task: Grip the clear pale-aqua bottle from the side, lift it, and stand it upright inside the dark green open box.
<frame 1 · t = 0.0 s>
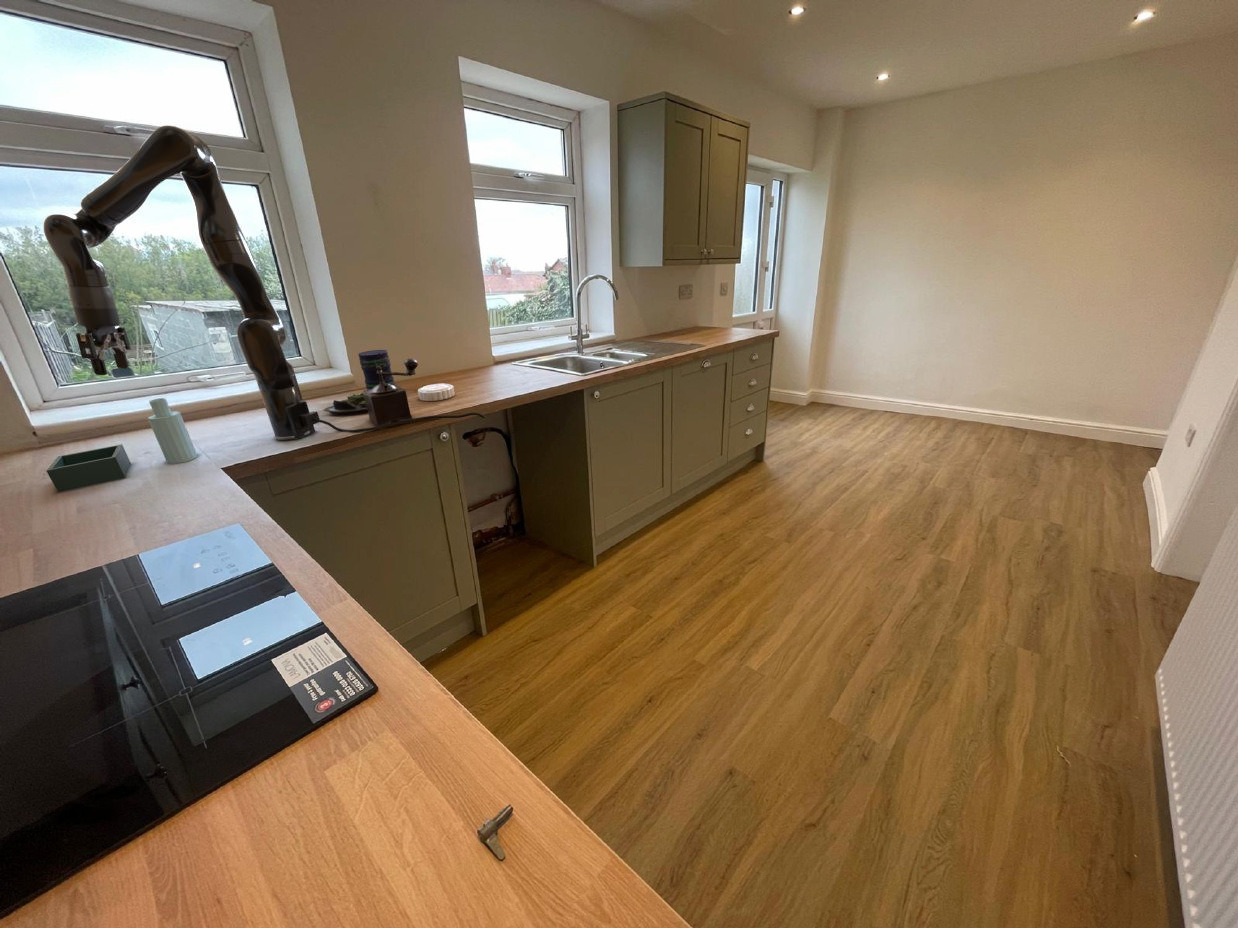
hand: (112, 371, 128), 22 cm above the worktop, tool pointing down, fingers open, 8 cm apart
manual coffee grinder: (399, 418, 155), on the worktop
bottle: (182, 459, 131), on the worktop
mooncake: (437, 397, 177), on the worktop
storage jar: (382, 393, 186), on the worktop
dark green open box: (97, 477, 122), on the worktop
salad plate: (358, 409, 168), on the worktop
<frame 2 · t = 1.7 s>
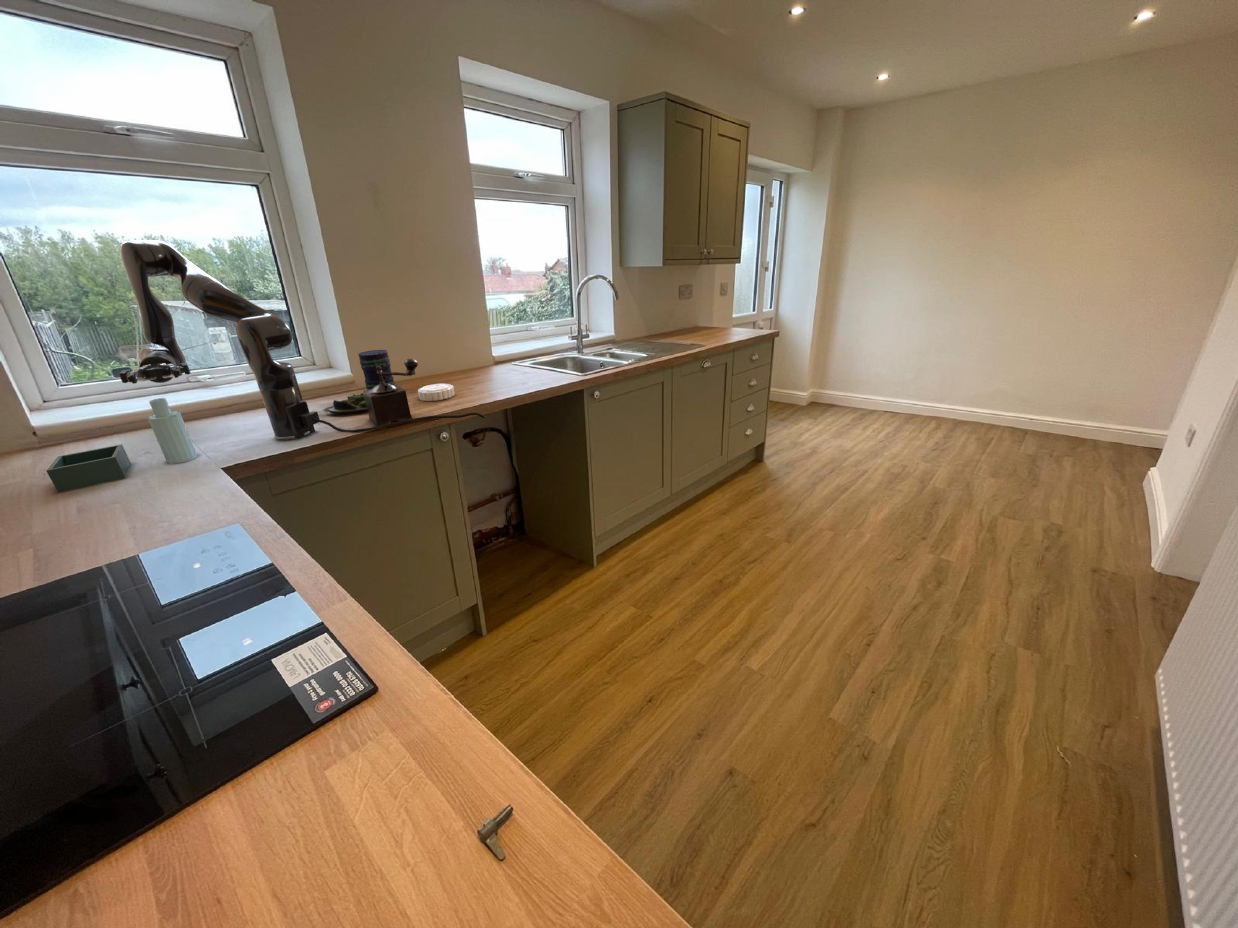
hand: (154, 376, 131), 20 cm above the worktop, tool horizontal, fingers open, 8 cm apart
nothing on the worktop moved.
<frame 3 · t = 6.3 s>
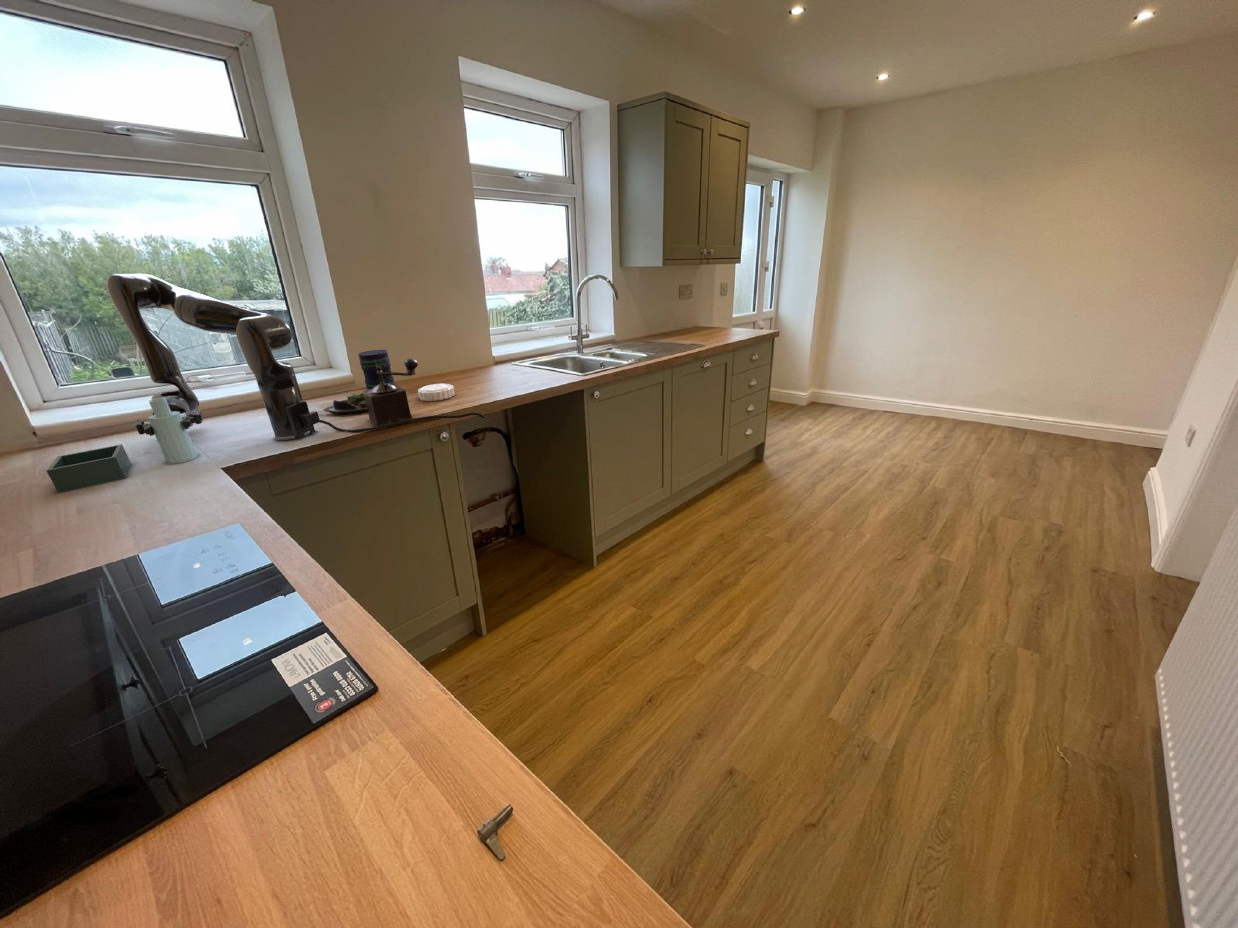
hand: (168, 428, 125), 9 cm above the worktop, tool horizontal, fingers closed on bottle, 6 cm apart
bottle: (182, 458, 131), on the worktop, touching gripper
everything else where it was.
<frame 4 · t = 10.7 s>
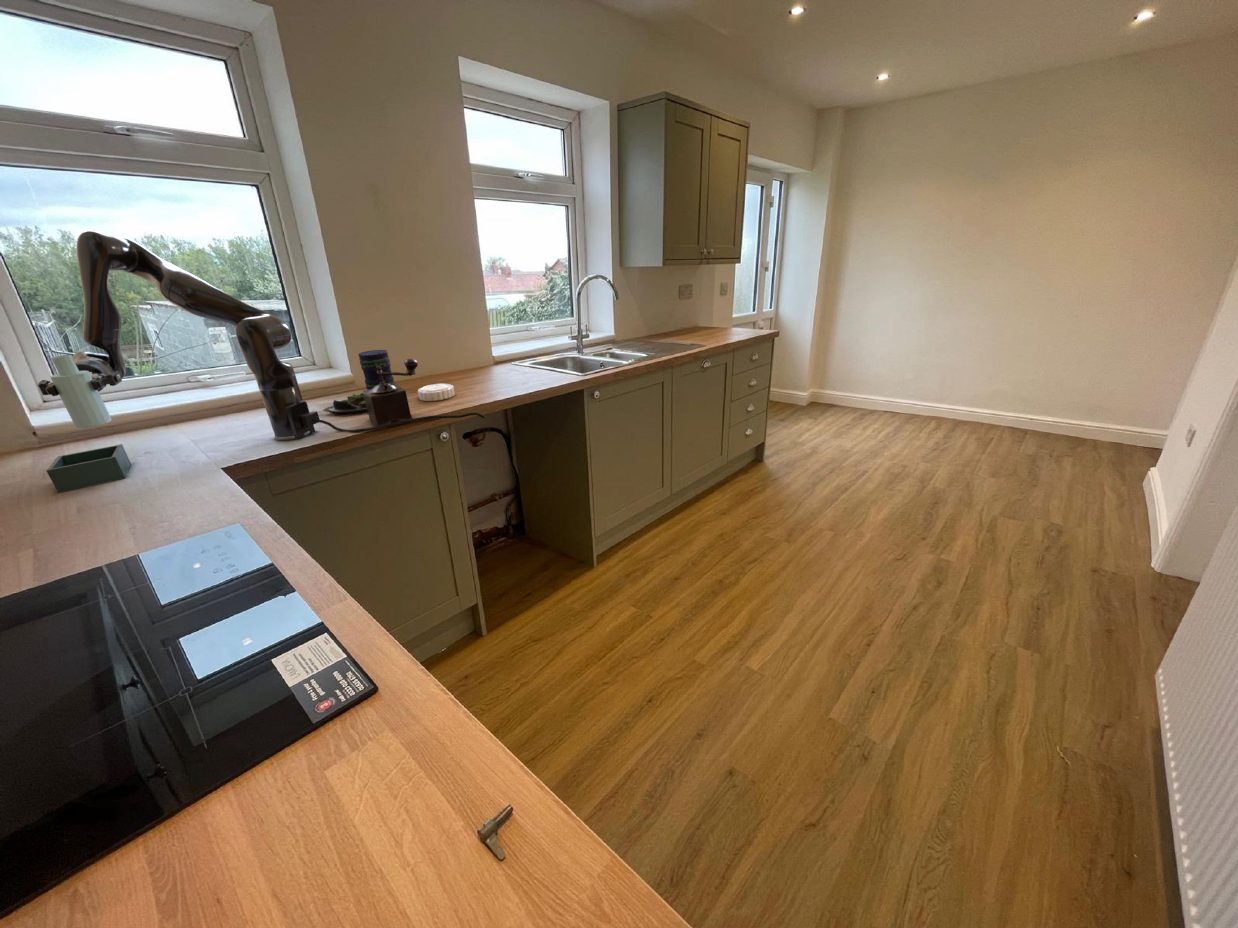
hand: (73, 388, 114), 22 cm above the worktop, tool horizontal, fingers closed on bottle, 6 cm apart
bottle: (94, 423, 119), point 13 cm above the worktop, touching gripper
everything else where it was.
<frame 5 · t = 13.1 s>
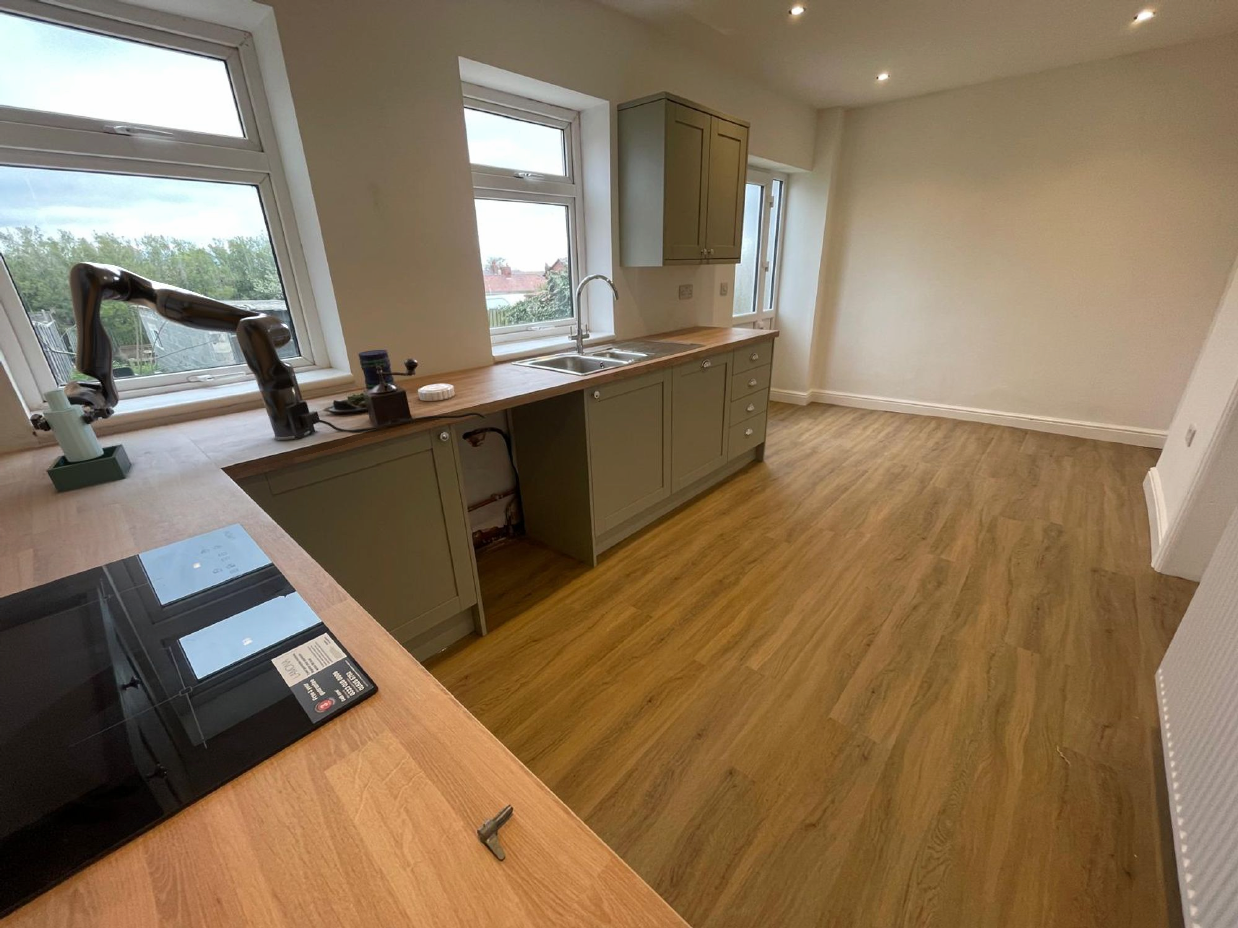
hand: (66, 423, 114), 14 cm above the worktop, tool horizontal, fingers closed on bottle, 6 cm apart
bottle: (86, 456, 120), point 5 cm above the worktop, touching gripper
everything else where it was.
when the fingers open (10 cm above the worktop, at t = 15.1 s): bottle stays where it is, resting on dark green open box.
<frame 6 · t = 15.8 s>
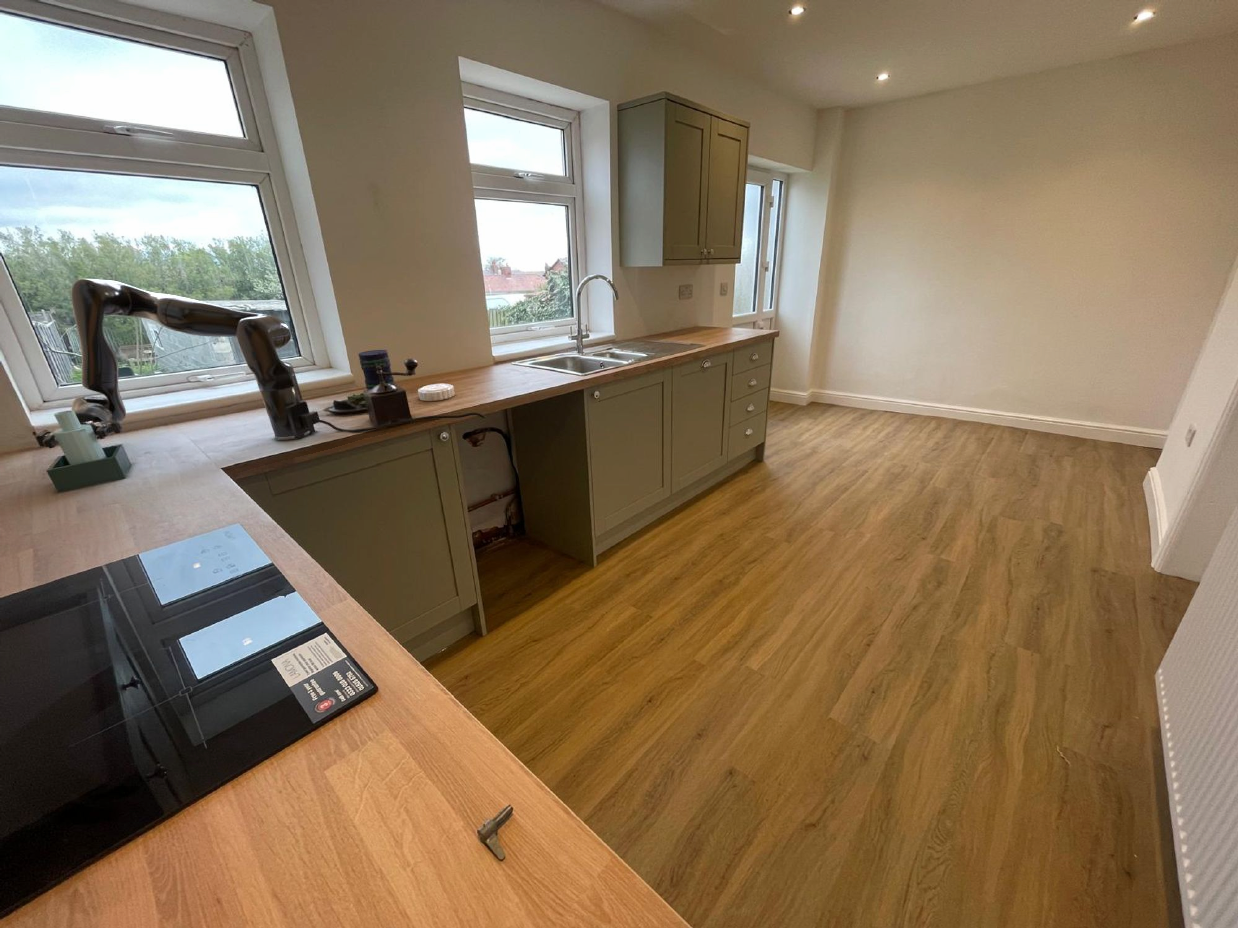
hand: (75, 439, 116), 10 cm above the worktop, tool horizontal, fingers open, 8 cm apart
bottle: (95, 475, 122), resting on dark green open box
everything else where it was.
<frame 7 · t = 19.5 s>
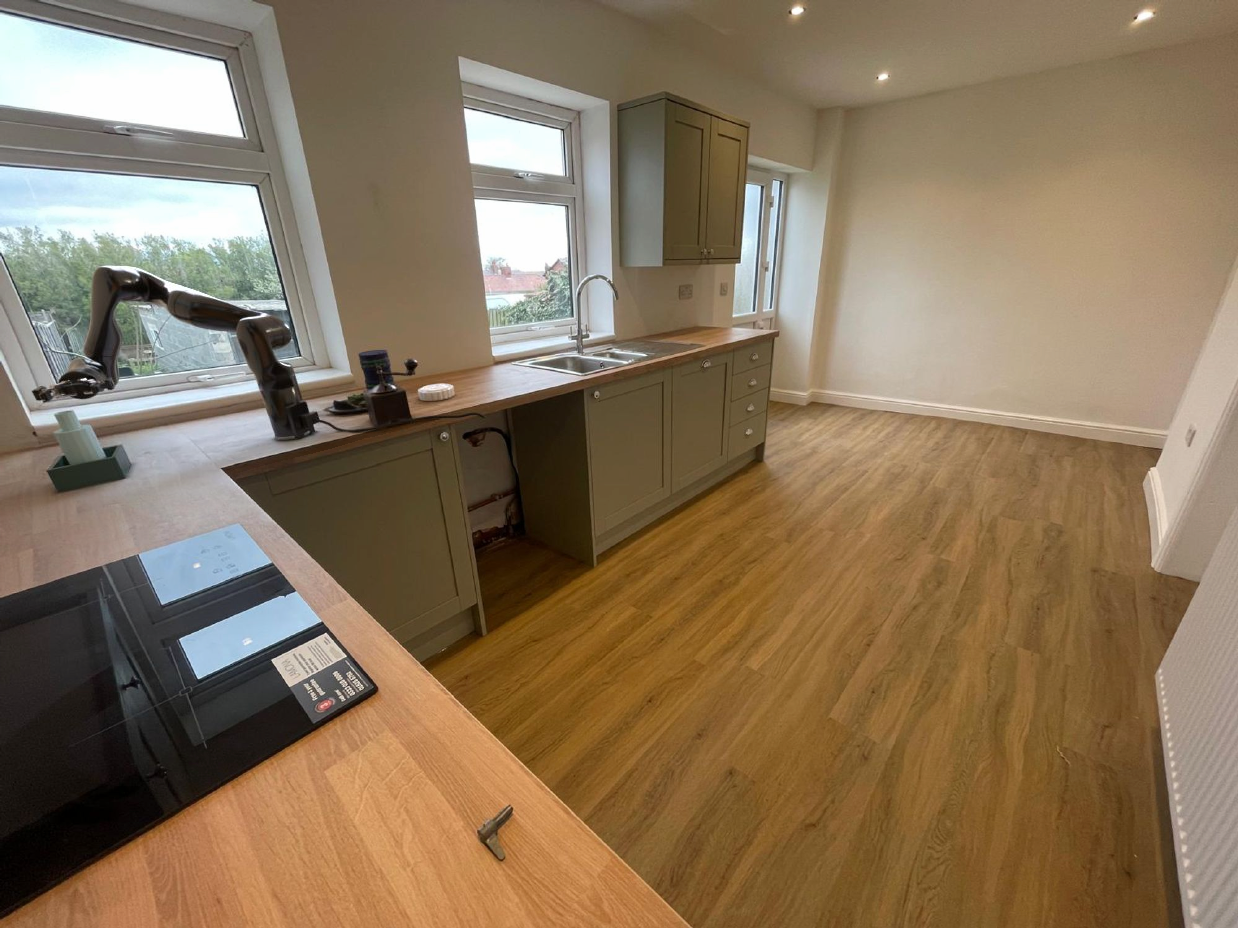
hand: (69, 393, 122), 19 cm above the worktop, tool horizontal, fingers open, 8 cm apart
nothing on the worktop moved.
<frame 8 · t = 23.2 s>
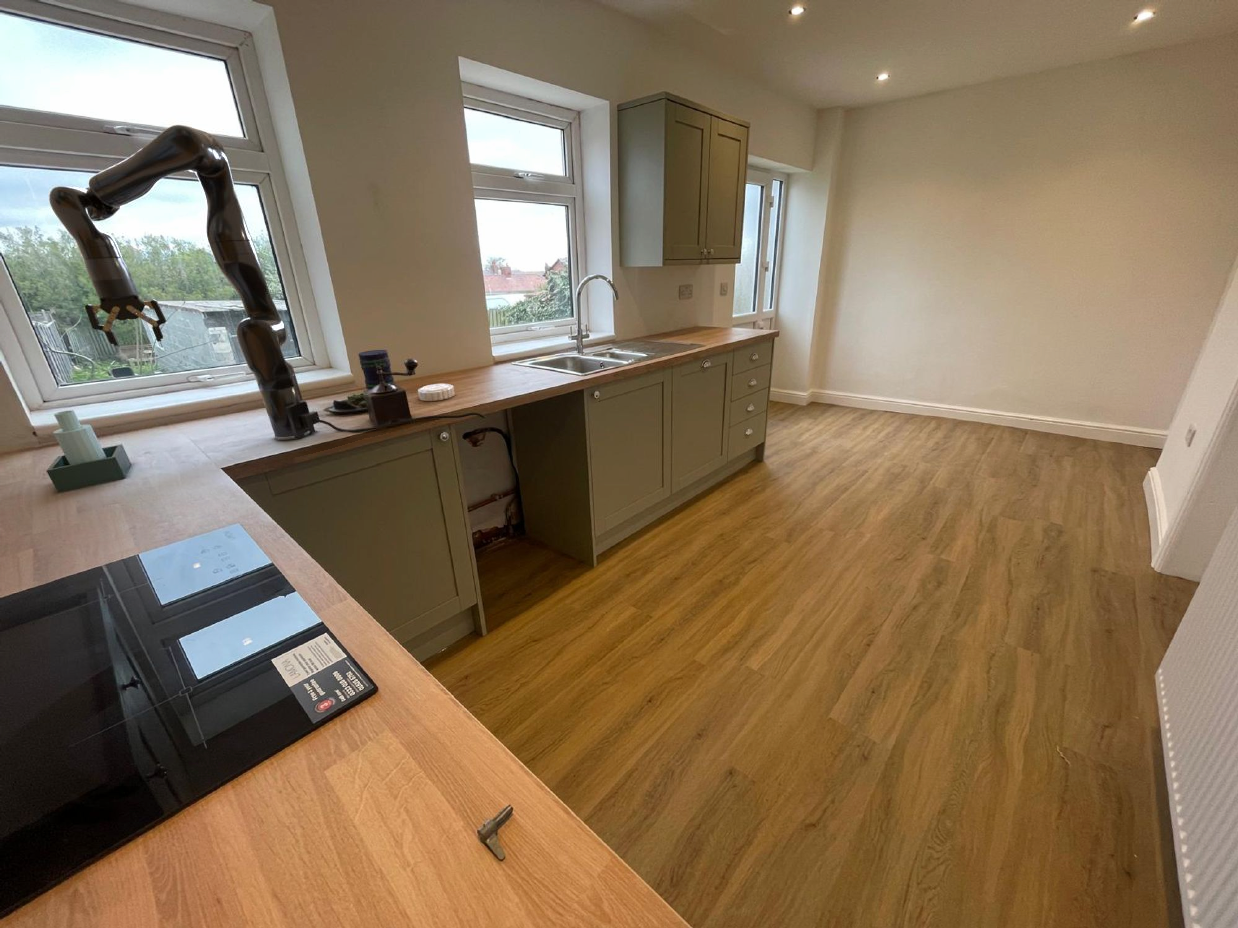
hand: (138, 343, 132), 28 cm above the worktop, tool pointing down, fingers open, 8 cm apart
nothing on the worktop moved.
at the end: bottle 0.2 cm off-centre in the dark green open box, point 0.5 cm above the dark green open box's base; bottle tilted 0°; the gripper is holding nothing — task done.
